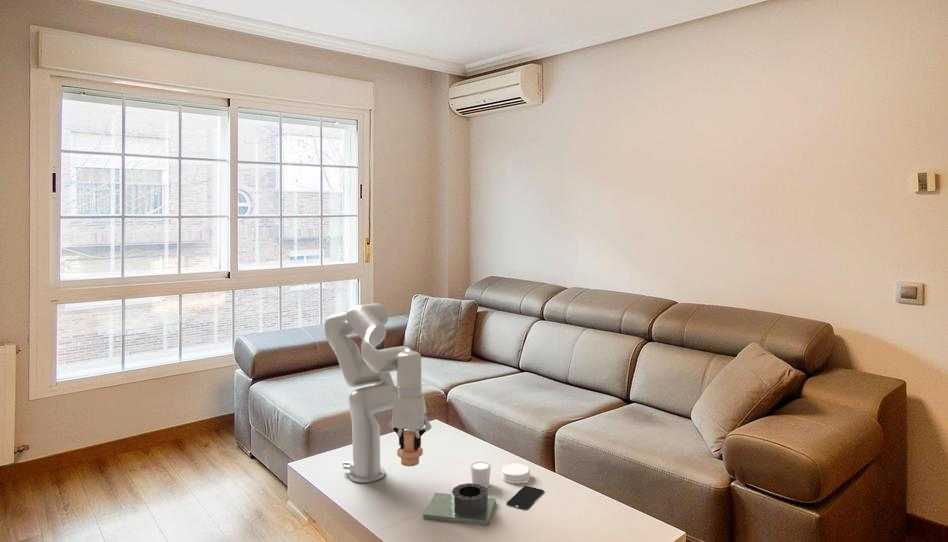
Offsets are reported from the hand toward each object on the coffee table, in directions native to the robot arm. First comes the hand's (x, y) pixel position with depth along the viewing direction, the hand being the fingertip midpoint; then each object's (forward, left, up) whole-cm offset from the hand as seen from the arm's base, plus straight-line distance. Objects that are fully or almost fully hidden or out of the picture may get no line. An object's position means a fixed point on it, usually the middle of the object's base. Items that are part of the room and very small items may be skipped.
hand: (410, 447), depth 182 cm
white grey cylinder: (+19, +18, -19) cm, 33 cm away
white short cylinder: (+30, +26, -19) cm, 44 cm away
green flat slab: (+16, 0, -19) cm, 25 cm away
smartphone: (+35, +12, -20) cm, 42 cm away
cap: (0, 0, -5) cm, 5 cm away
